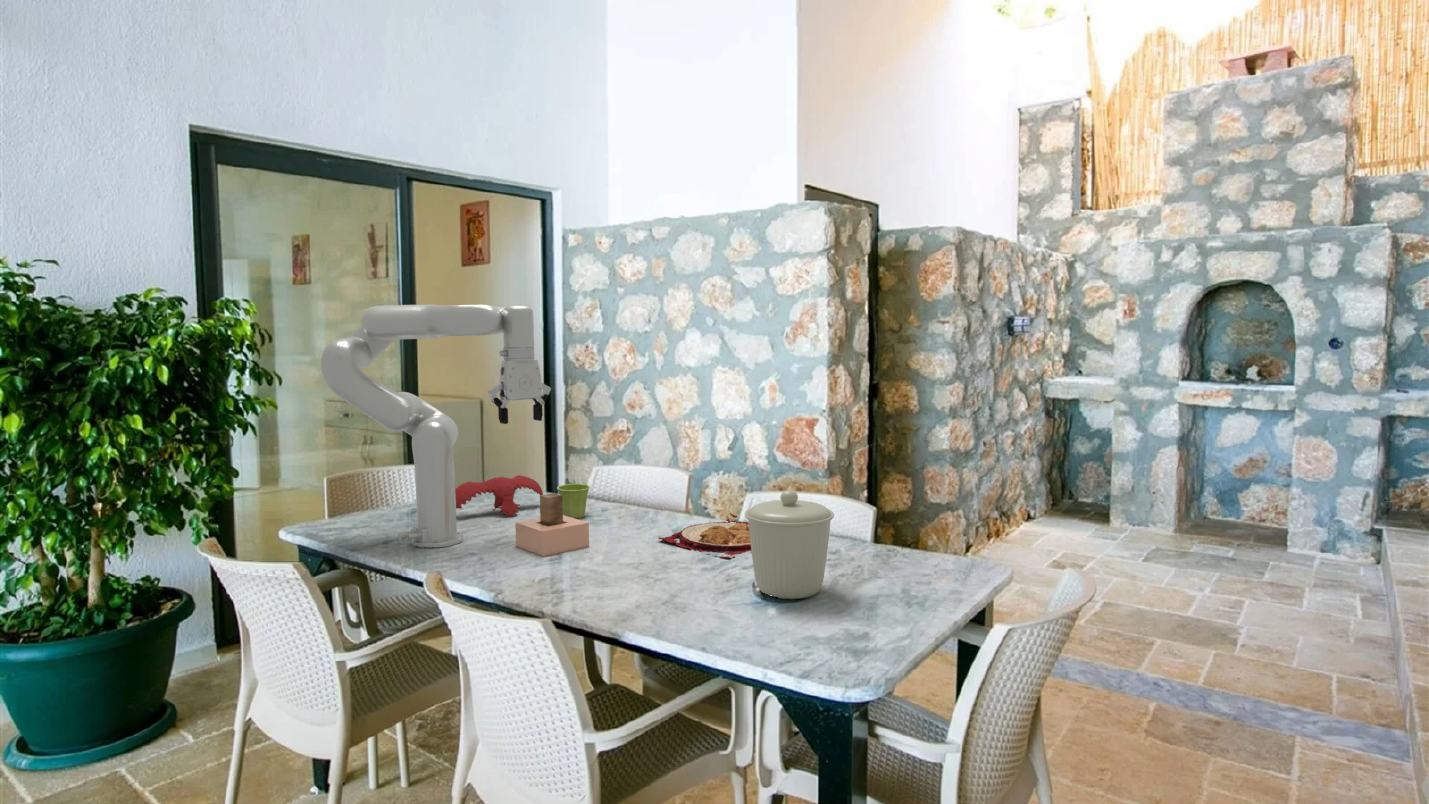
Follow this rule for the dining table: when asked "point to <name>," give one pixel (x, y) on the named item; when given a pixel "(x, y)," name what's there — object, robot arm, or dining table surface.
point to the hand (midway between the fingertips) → (521, 421)
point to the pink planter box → (552, 536)
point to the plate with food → (715, 537)
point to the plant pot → (574, 499)
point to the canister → (789, 545)
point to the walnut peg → (551, 509)
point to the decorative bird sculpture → (497, 492)
